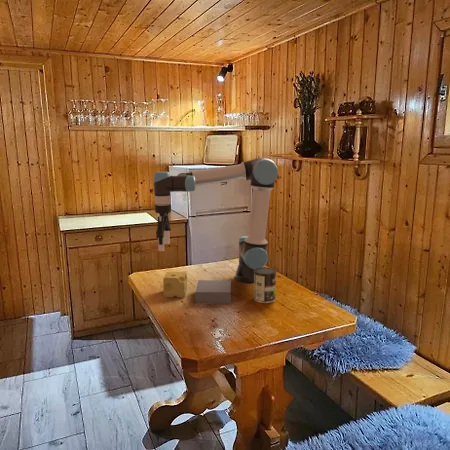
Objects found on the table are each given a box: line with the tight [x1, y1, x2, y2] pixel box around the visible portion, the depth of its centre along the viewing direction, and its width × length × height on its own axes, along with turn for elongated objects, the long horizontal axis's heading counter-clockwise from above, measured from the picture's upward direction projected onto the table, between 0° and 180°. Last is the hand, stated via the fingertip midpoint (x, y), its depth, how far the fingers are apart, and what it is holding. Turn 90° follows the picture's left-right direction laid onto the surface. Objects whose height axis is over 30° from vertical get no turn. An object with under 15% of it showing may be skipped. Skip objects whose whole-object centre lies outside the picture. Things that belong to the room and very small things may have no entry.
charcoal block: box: [194, 279, 232, 305], centre depth 193 cm, size 16×16×6 cm
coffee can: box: [253, 266, 277, 304], centre depth 190 cm, size 10×10×14 cm
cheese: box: [162, 271, 188, 299], centre depth 197 cm, size 10×11×10 cm
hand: (164, 247), depth 198 cm, fingers open, 13 cm apart
